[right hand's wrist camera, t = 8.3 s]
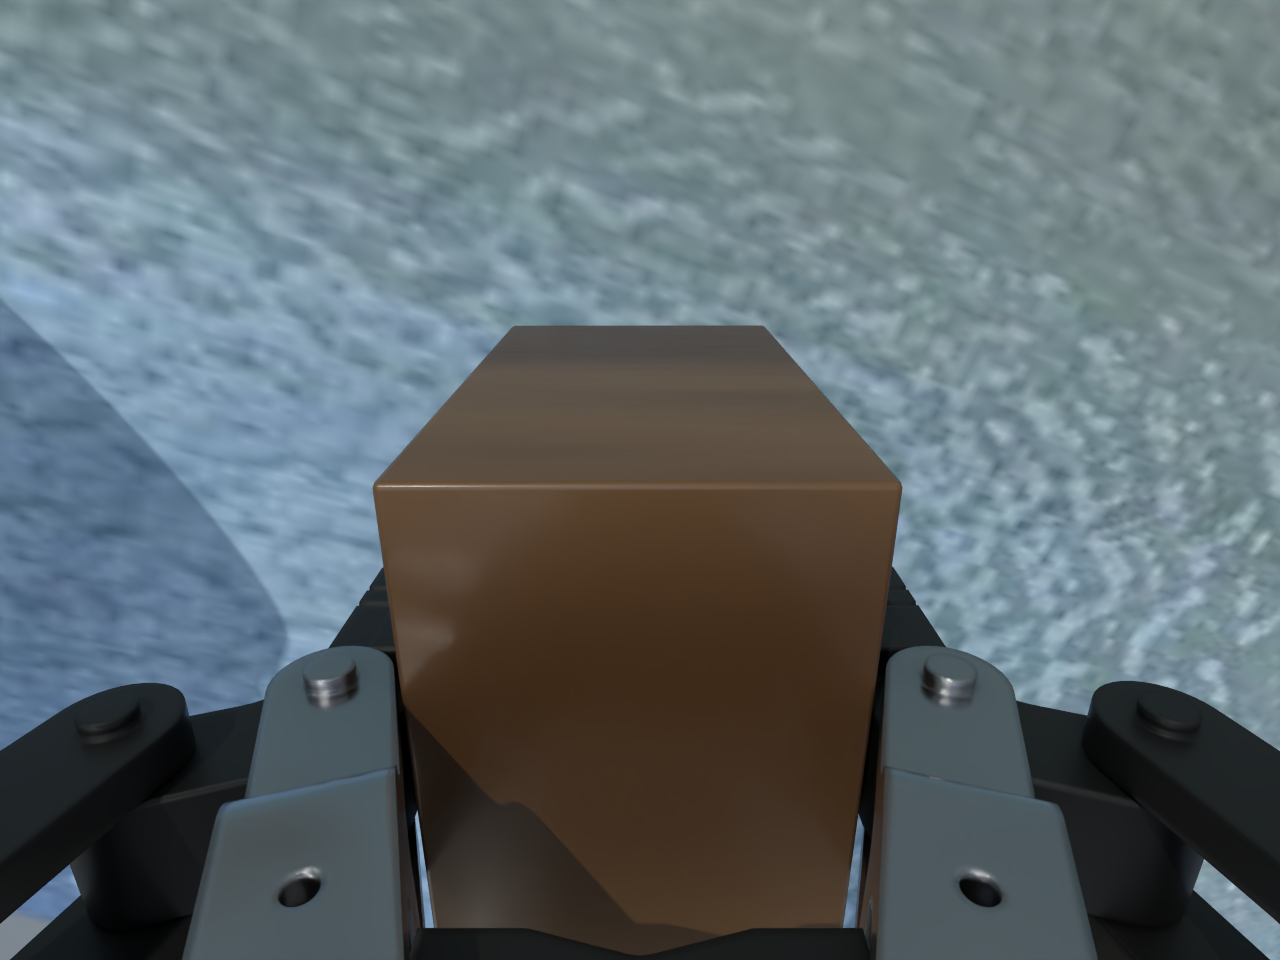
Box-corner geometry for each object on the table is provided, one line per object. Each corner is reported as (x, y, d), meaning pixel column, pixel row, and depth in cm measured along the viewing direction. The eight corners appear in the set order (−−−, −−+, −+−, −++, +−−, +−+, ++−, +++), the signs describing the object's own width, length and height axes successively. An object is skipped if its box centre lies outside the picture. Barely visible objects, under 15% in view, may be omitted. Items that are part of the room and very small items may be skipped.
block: (511, 325, 14) (368, 483, 7) (765, 324, 14) (906, 482, 7) (559, 1098, 22) (520, 1554, 15) (719, 1098, 22) (759, 1554, 15)
